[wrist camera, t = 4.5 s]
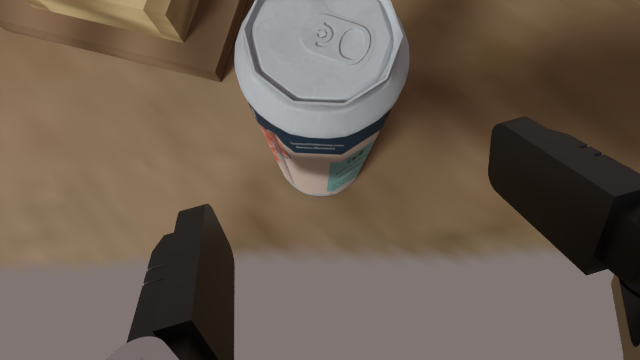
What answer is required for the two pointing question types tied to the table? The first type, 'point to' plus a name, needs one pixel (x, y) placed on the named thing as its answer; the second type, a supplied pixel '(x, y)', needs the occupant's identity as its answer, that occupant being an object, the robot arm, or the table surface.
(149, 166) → the table surface
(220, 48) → the caddy
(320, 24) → the beer can
